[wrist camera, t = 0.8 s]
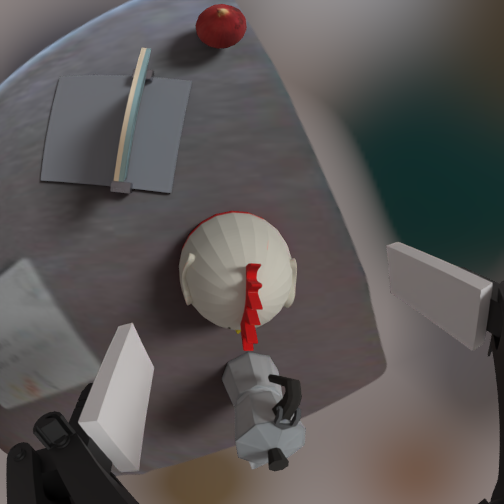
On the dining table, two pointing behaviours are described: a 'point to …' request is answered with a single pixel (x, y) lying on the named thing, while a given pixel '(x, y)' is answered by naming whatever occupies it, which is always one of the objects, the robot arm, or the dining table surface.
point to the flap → (131, 117)
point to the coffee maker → (264, 411)
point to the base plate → (114, 131)
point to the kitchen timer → (237, 272)
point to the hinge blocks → (127, 186)
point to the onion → (221, 26)
